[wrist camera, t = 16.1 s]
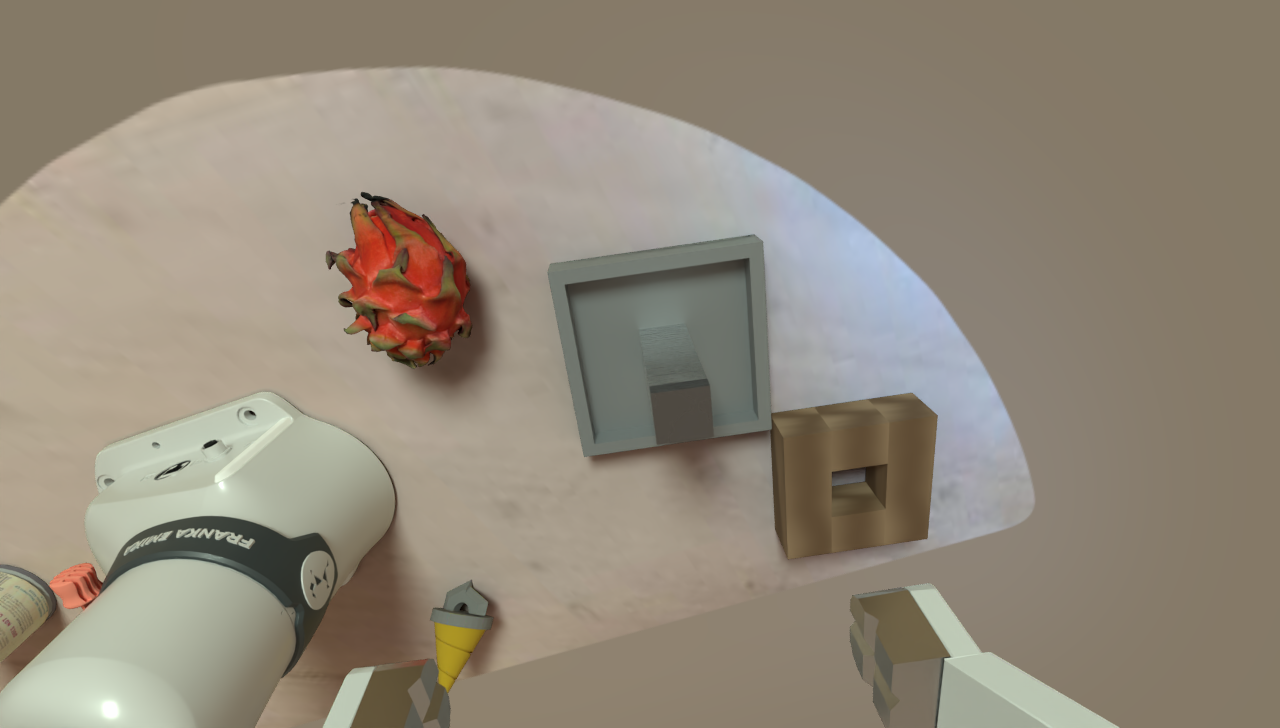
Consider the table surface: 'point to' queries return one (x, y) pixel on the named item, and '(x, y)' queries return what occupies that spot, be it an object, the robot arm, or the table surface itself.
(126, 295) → the table surface
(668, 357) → the metal pin
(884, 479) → the hitch block
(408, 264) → the dragon fruit
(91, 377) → the table surface
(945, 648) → the robot arm
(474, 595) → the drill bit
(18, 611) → the aerosol can
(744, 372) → the tray
